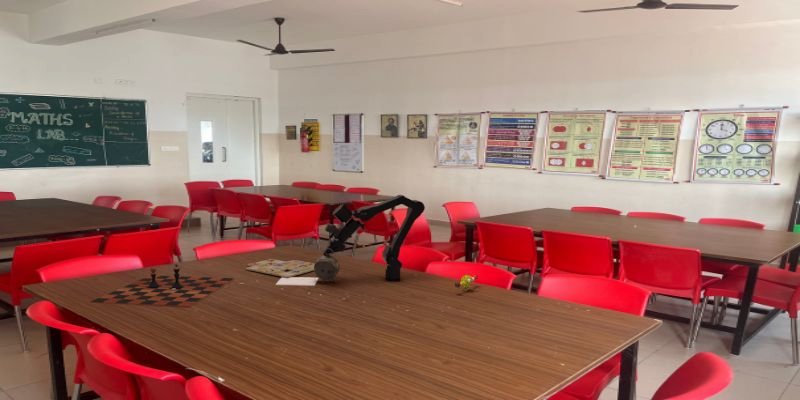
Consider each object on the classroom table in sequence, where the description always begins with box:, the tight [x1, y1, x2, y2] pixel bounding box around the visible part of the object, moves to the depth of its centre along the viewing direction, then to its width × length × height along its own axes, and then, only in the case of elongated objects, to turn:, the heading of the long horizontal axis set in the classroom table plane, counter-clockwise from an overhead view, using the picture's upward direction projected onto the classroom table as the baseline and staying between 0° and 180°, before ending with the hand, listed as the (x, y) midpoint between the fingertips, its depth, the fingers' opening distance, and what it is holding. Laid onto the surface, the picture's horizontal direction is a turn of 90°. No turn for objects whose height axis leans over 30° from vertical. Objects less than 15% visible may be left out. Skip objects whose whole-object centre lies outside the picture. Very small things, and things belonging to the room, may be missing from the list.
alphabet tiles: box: [245, 258, 316, 278], centre depth 253 cm, size 33×28×1 cm
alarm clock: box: [313, 247, 341, 284], centre depth 226 cm, size 11×5×16 cm, turn 83°
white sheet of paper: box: [275, 276, 320, 287], centre depth 229 cm, size 17×12×1 cm
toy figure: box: [454, 274, 479, 292], centre depth 220 cm, size 18×6×7 cm, turn 143°
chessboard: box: [90, 263, 235, 308], centre depth 212 cm, size 40×40×11 cm
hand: (323, 254), depth 226 cm, fingers closed
